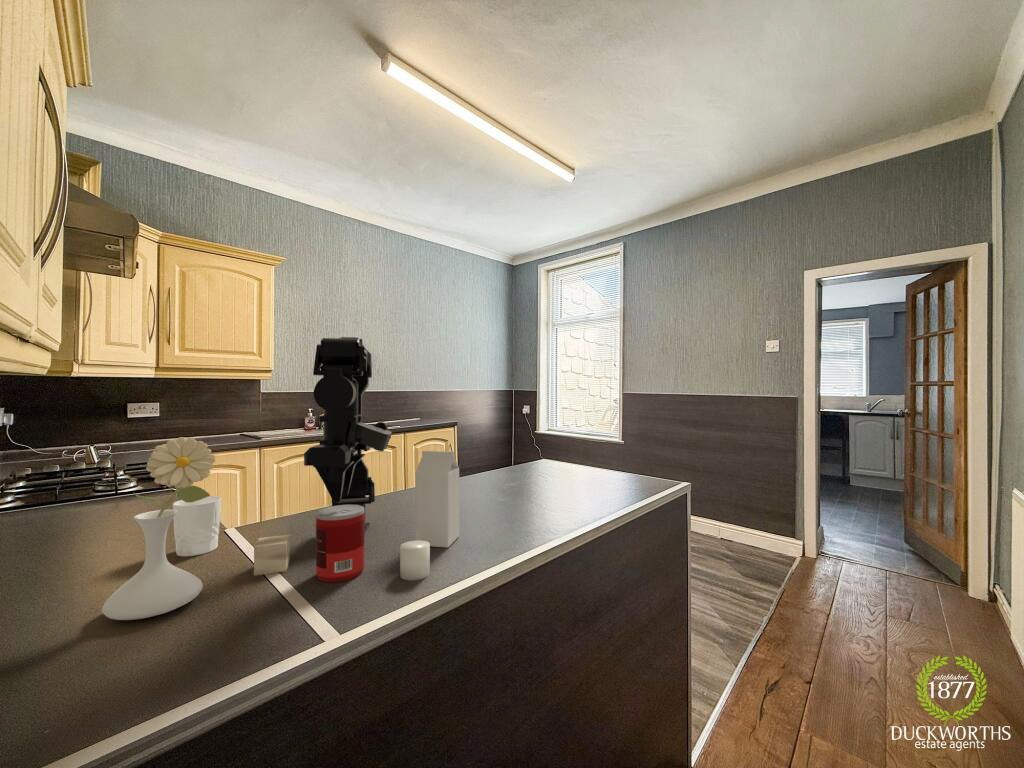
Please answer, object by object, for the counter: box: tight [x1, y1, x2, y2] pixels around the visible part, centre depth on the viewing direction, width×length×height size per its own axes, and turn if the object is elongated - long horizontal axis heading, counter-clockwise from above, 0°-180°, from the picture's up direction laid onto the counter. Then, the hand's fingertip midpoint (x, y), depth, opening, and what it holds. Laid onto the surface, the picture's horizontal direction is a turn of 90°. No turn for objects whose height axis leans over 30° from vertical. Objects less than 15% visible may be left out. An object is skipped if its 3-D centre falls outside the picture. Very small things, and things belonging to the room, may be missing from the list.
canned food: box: [315, 505, 366, 583], centre depth 75 cm, size 8×8×11 cm
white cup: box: [172, 495, 222, 557], centre depth 86 cm, size 8×8×10 cm
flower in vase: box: [101, 436, 216, 621], centre depth 64 cm, size 13×11×25 cm
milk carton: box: [415, 450, 460, 548], centre depth 91 cm, size 7×7×19 cm
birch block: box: [253, 534, 291, 577], centre depth 77 cm, size 5×5×5 cm
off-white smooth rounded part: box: [399, 539, 431, 581], centre depth 74 cm, size 5×5×5 cm
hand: (340, 498), depth 75 cm, fingers open, 4 cm apart
